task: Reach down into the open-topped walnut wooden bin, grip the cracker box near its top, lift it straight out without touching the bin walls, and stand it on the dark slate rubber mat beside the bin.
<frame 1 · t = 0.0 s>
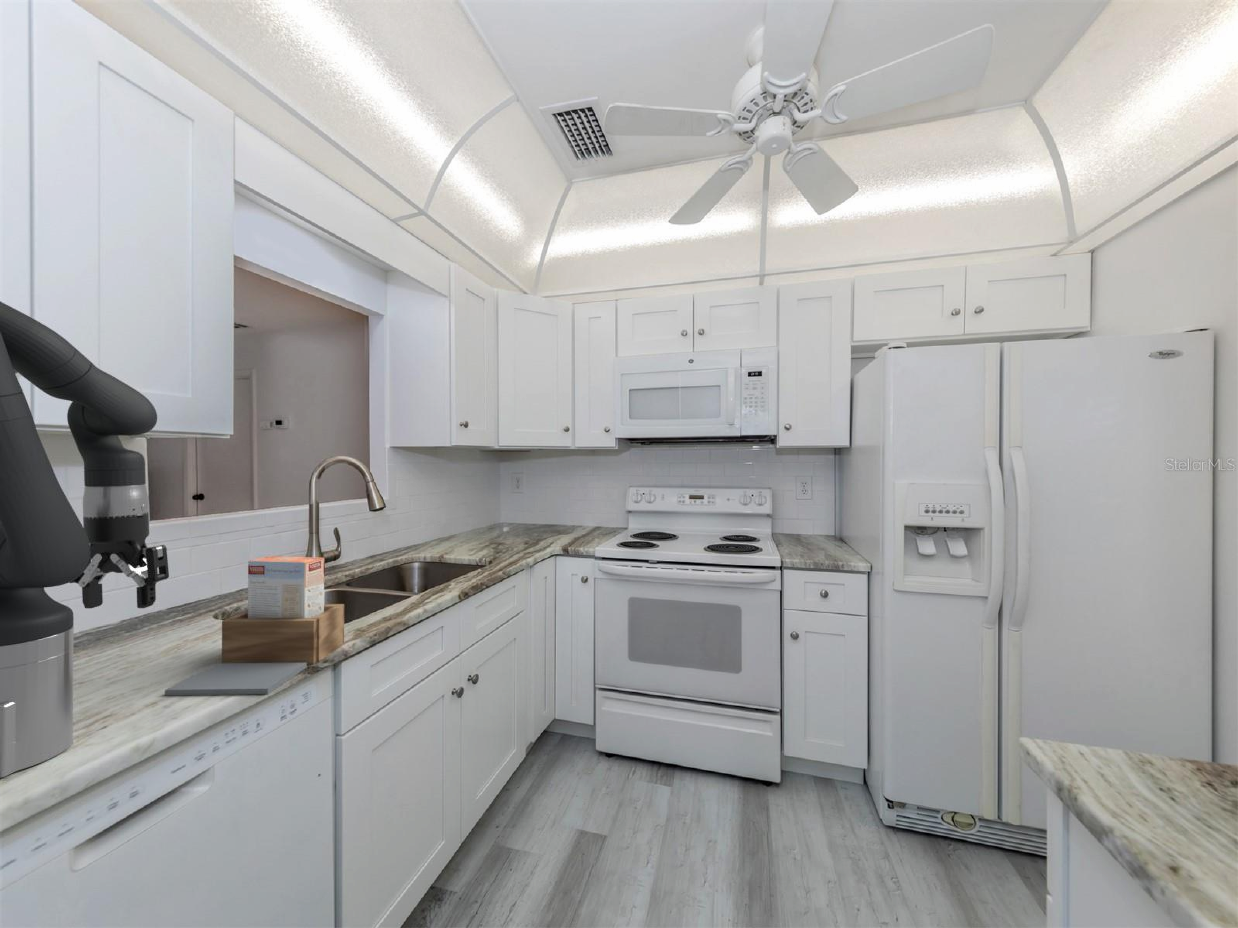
hand: (119, 607, 79), 17 cm above the countertop, tool pointing down, fingers open, 8 cm apart
pad: (240, 680, 89), on the countertop
crate: (286, 653, 102), on the countertop
cracker box: (286, 654, 102), resting in crate
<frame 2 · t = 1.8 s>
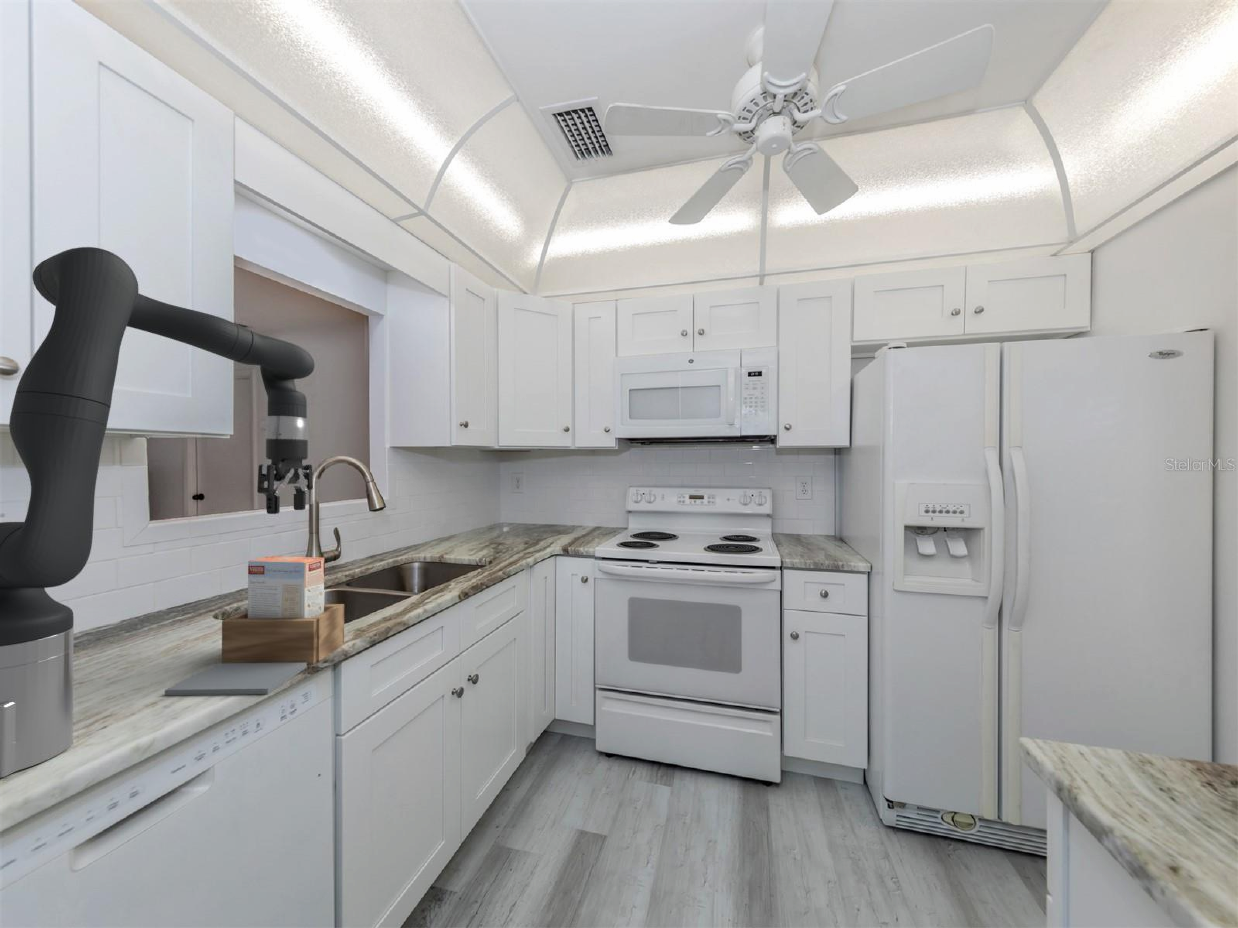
hand: (286, 511, 102), 31 cm above the countertop, tool pointing down, fingers open, 8 cm apart
nothing on the countertop moved.
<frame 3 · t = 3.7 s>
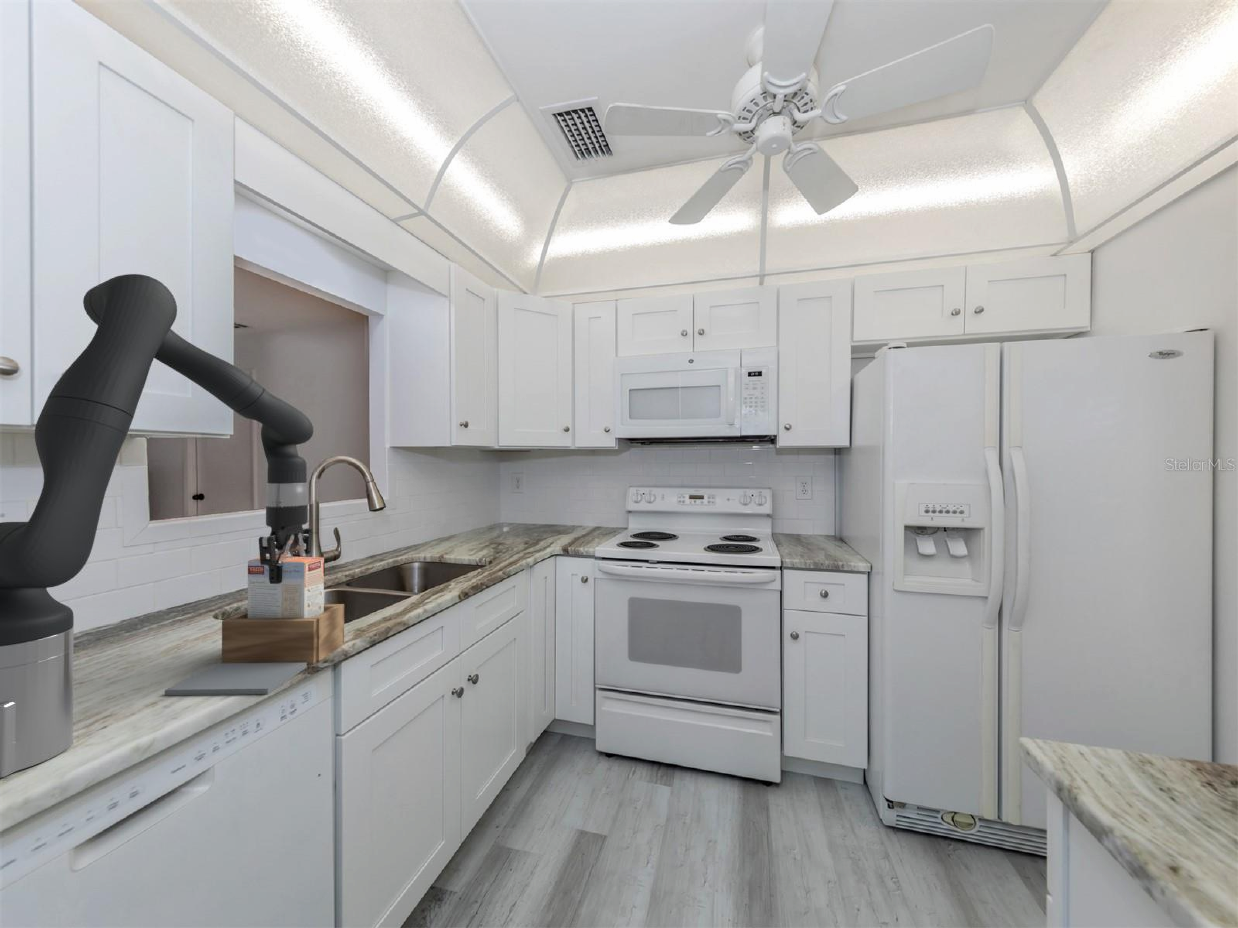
hand: (287, 579, 102), 16 cm above the countertop, tool pointing down, fingers closed on cracker box, 6 cm apart
cracker box: (286, 653, 102), resting in crate, touching gripper
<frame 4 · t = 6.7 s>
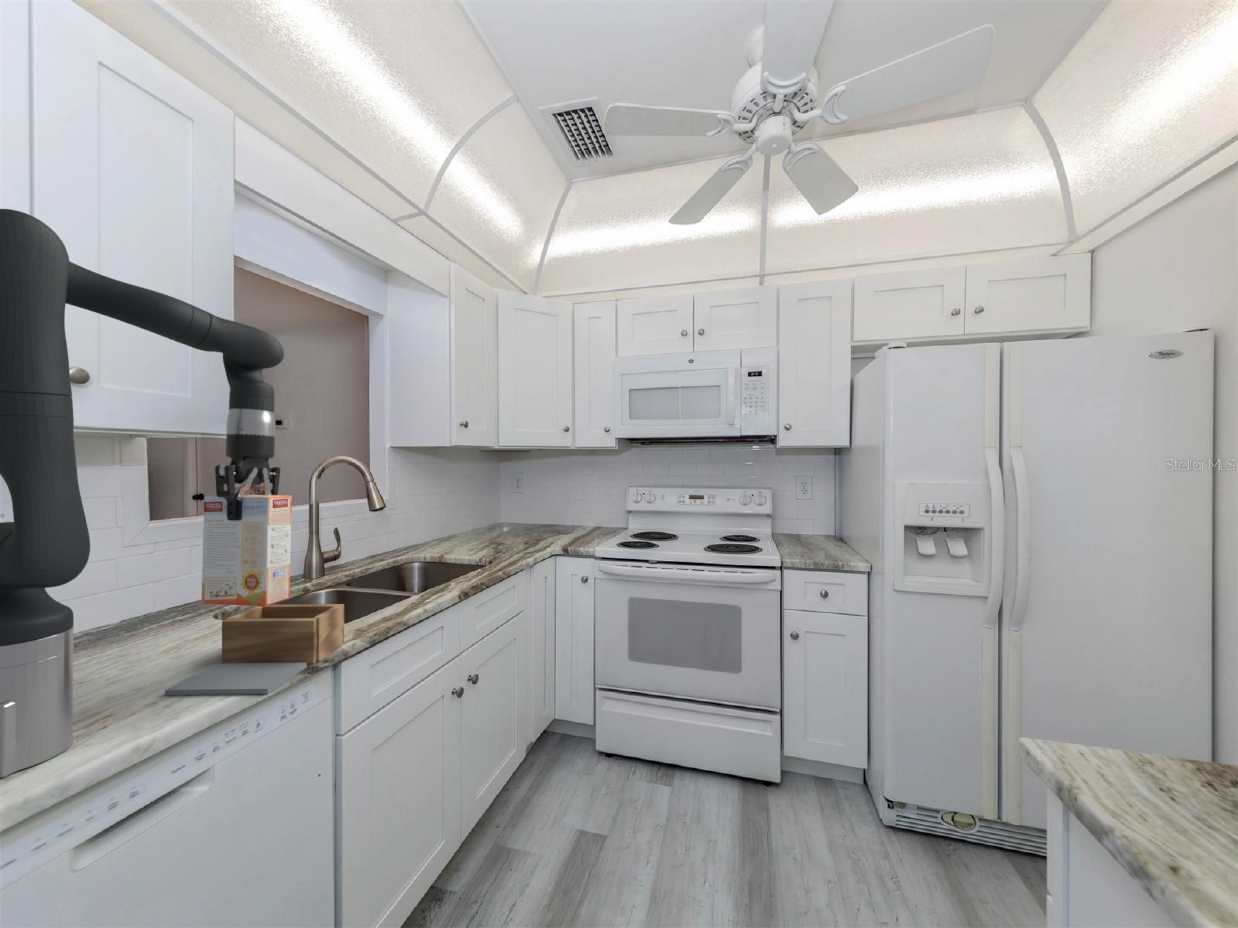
hand: (248, 518, 91), 31 cm above the countertop, tool pointing down, fingers closed on cracker box, 6 cm apart
cracker box: (246, 603, 91), point 14 cm above the countertop, touching gripper
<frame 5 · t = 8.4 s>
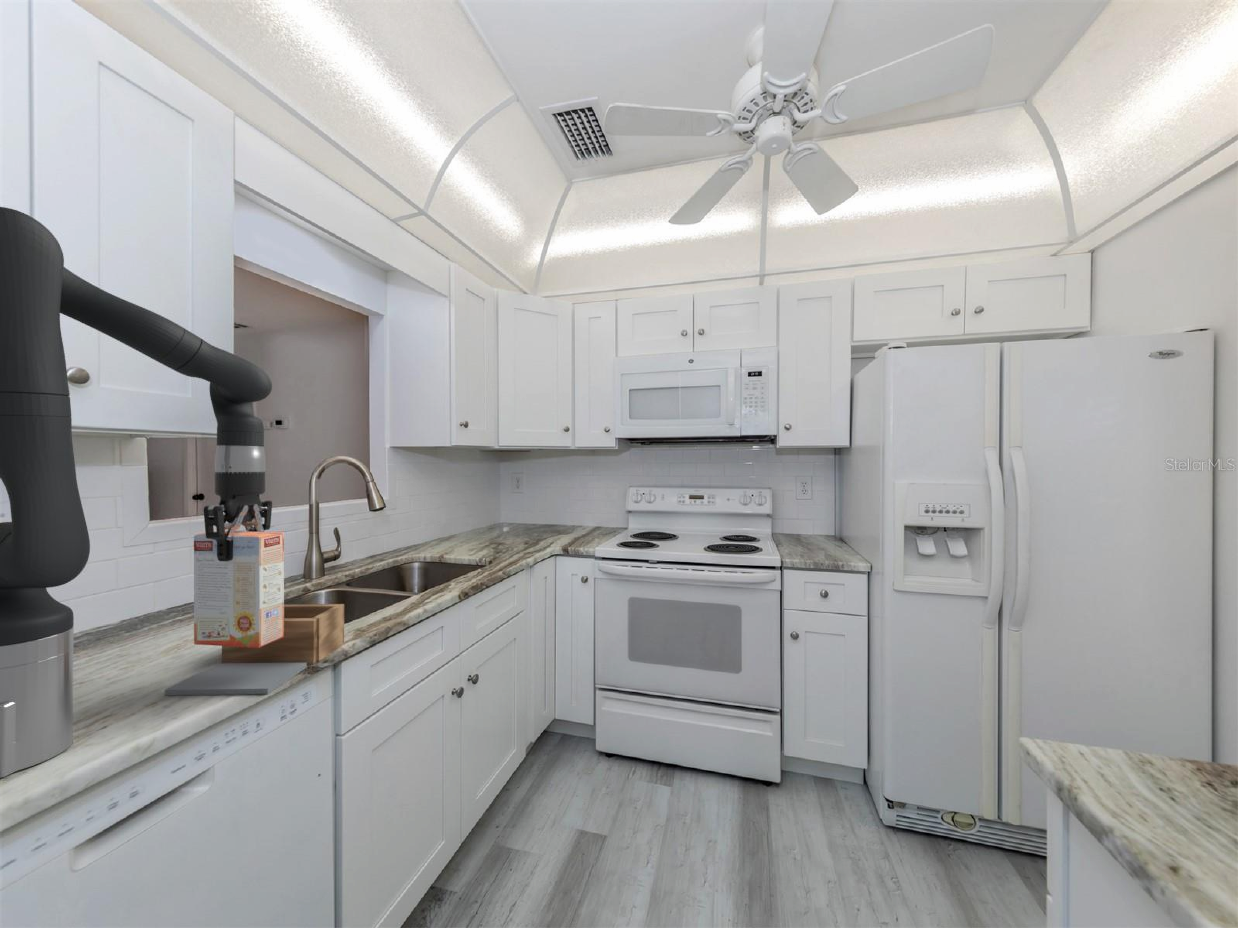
hand: (240, 556, 89), 24 cm above the countertop, tool pointing down, fingers closed on cracker box, 6 cm apart
cracker box: (240, 642, 89), point 7 cm above the countertop, touching gripper
when the fingers open (19 cm above the countertop, at t = 10.0 s): cracker box drops 1 cm, resting on pad.
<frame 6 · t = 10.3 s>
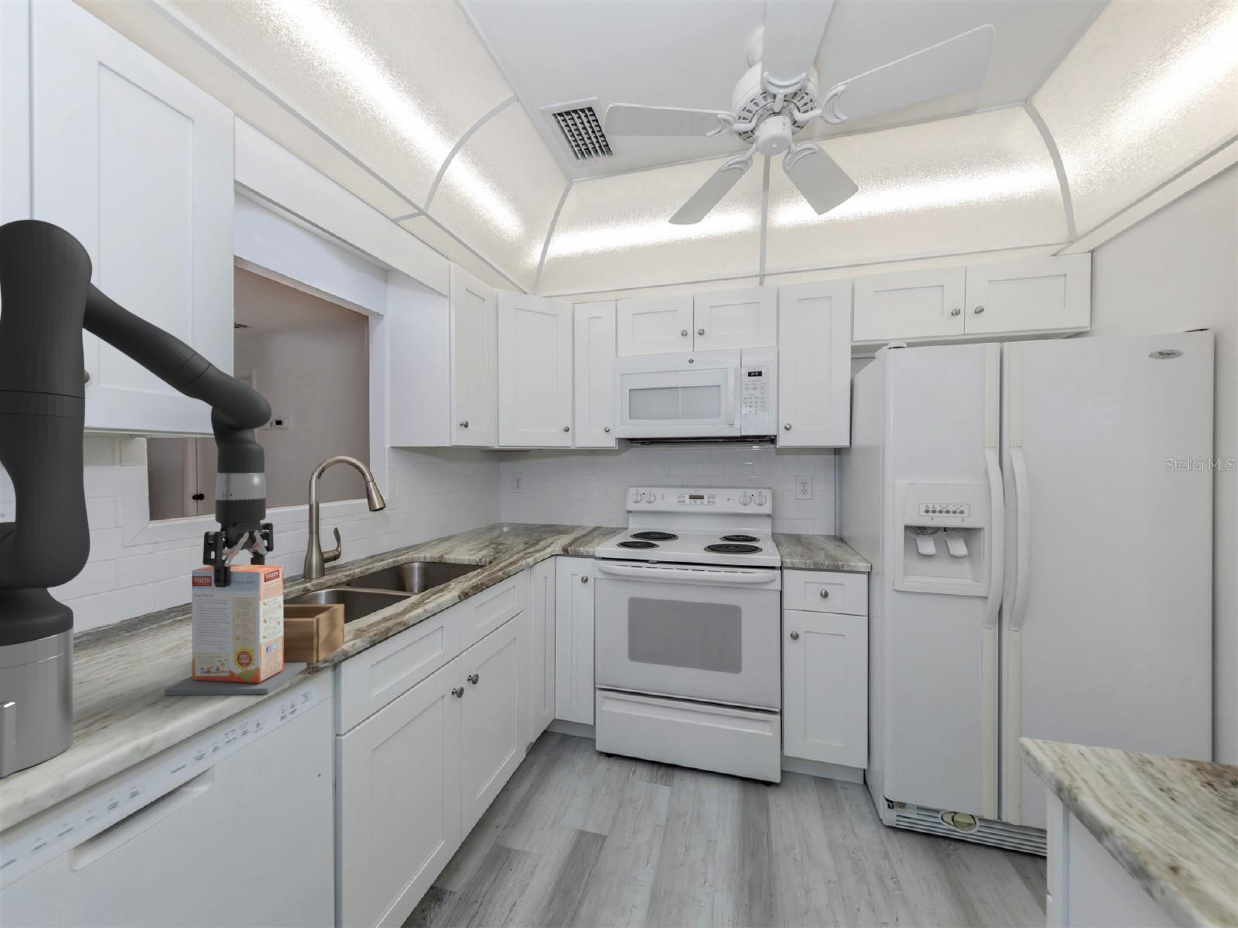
hand: (240, 581, 89), 19 cm above the countertop, tool pointing down, fingers open, 8 cm apart
cracker box: (239, 676, 89), point 1 cm above the countertop, touching pad
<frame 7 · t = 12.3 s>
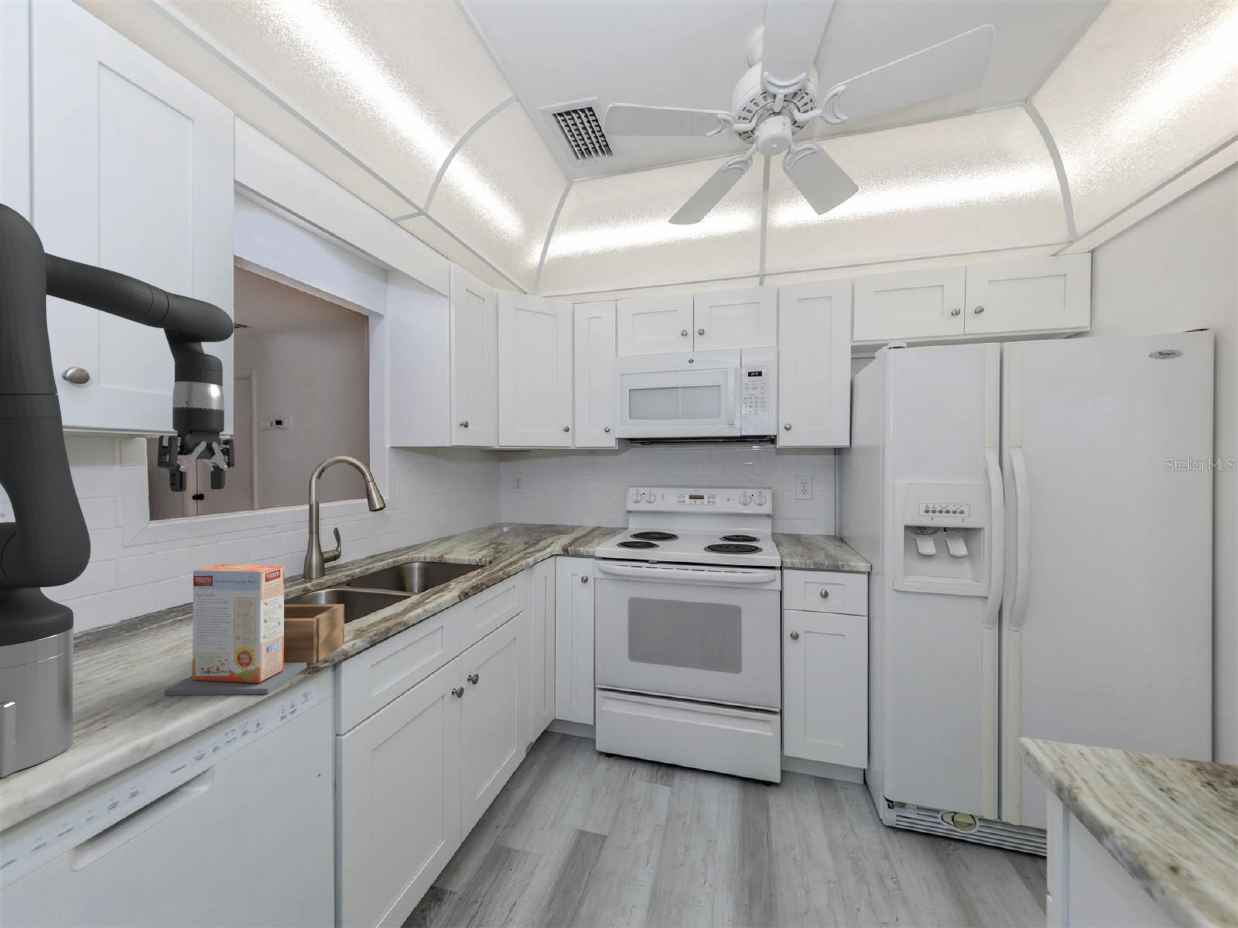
hand: (199, 490, 91), 36 cm above the countertop, tool pointing down, fingers open, 8 cm apart
nothing on the countertop moved.
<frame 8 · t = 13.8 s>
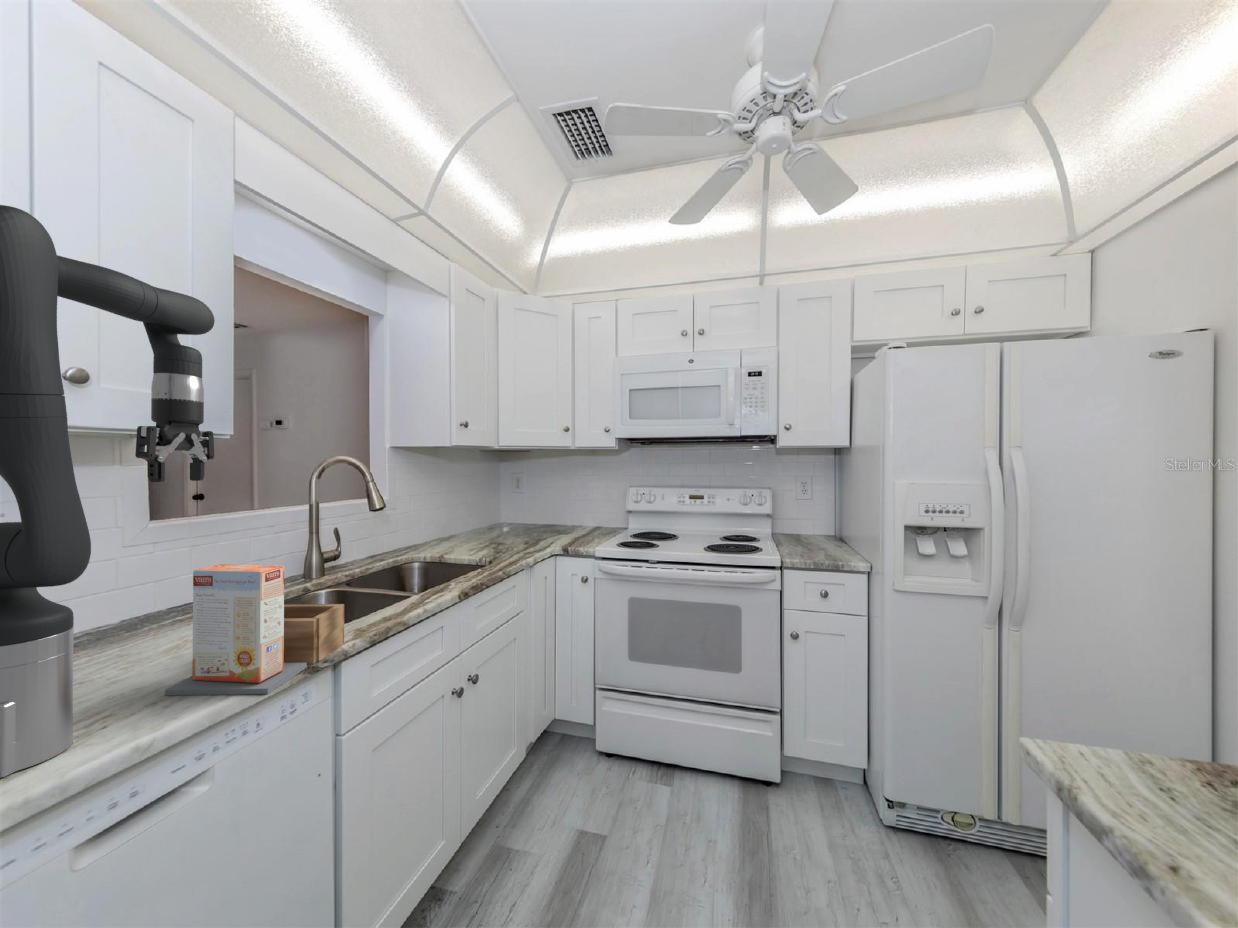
hand: (177, 481, 92), 38 cm above the countertop, tool pointing down, fingers open, 8 cm apart
nothing on the countertop moved.
at the end: cracker box inside the target area on the pad (0.2 cm from its centre), point 0.8 cm above the pad's base; cracker box tilted 0°; cracker box touching pad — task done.
